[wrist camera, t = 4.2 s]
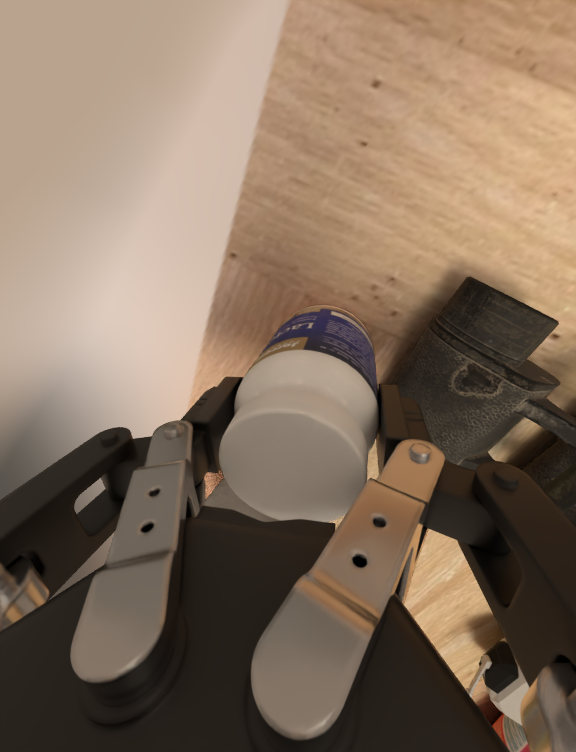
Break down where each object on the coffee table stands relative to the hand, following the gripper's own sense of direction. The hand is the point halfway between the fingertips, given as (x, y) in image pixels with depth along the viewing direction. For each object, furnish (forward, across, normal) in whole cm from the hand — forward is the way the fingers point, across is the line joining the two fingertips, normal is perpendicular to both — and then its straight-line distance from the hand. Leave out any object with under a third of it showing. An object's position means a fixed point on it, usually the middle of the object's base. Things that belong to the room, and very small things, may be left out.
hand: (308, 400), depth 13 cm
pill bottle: (+6, 0, 0) cm, 6 cm away
